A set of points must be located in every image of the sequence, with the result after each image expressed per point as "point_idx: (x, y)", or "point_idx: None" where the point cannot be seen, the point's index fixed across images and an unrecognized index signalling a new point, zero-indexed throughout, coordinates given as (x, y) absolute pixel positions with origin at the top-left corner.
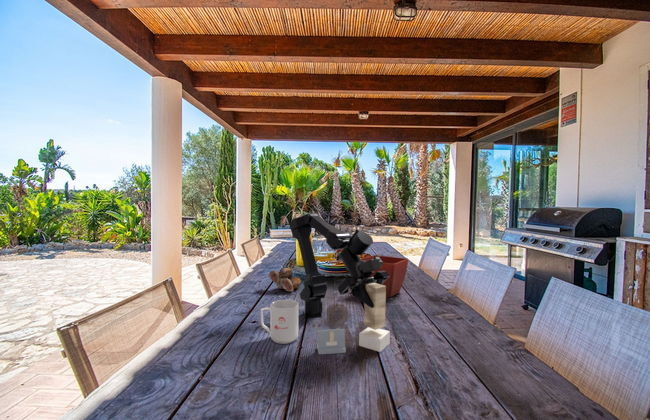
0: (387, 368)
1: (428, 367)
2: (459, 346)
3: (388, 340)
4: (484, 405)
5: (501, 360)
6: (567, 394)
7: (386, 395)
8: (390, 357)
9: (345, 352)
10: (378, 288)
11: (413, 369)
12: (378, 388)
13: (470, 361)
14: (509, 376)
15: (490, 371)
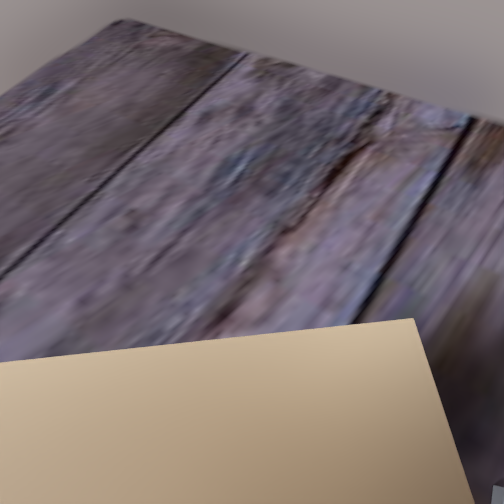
0: (367, 261)
1: (231, 205)
2: (7, 244)
3: None
4: (263, 75)
5: (28, 146)
6: (96, 48)
7: (461, 166)
8: (298, 315)
9: (496, 486)
10: (281, 338)
11: (285, 218)
12: (468, 195)
13: (94, 174)
14: (104, 105)
15: (112, 130)
